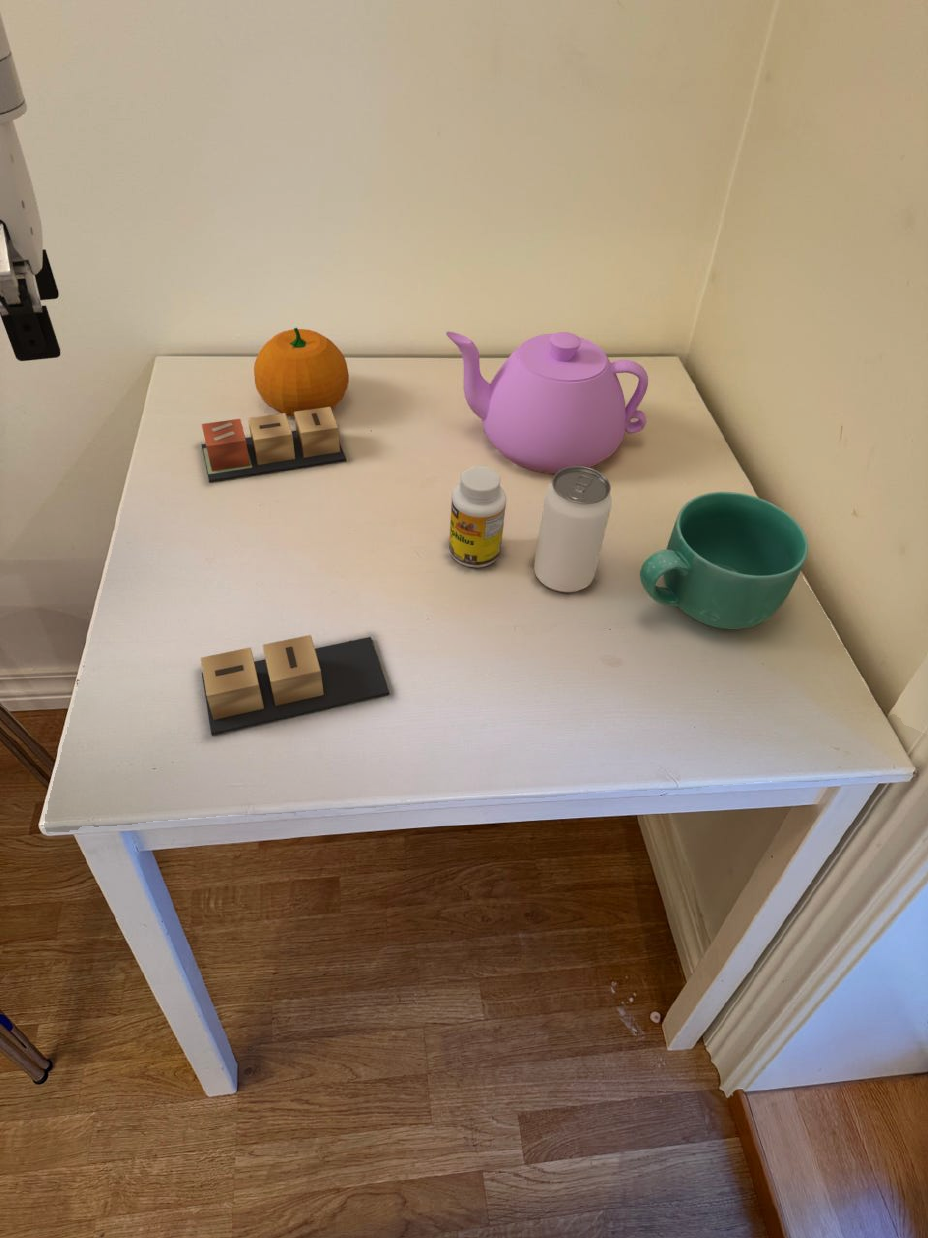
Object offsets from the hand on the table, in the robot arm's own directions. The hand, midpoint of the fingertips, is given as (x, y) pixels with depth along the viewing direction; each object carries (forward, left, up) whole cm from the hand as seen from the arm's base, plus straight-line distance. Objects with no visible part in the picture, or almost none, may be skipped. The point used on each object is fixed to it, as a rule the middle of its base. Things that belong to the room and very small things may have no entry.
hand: (39, 326), depth 68 cm
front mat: (0, -26, -26) cm, 37 cm away
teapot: (+47, -20, -26) cm, 58 cm away
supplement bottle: (+25, -27, -26) cm, 45 cm away
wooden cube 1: (-4, -23, -25) cm, 35 cm away
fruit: (+32, +7, -26) cm, 42 cm away
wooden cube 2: (0, -26, -25) cm, 36 cm away
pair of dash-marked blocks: (+25, 0, -25) cm, 35 cm away
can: (+29, -36, -26) cm, 53 cm away
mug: (+35, -49, -26) cm, 66 cm away
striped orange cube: (+18, +4, -25) cm, 31 cm away
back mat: (+22, +1, -26) cm, 34 cm away
